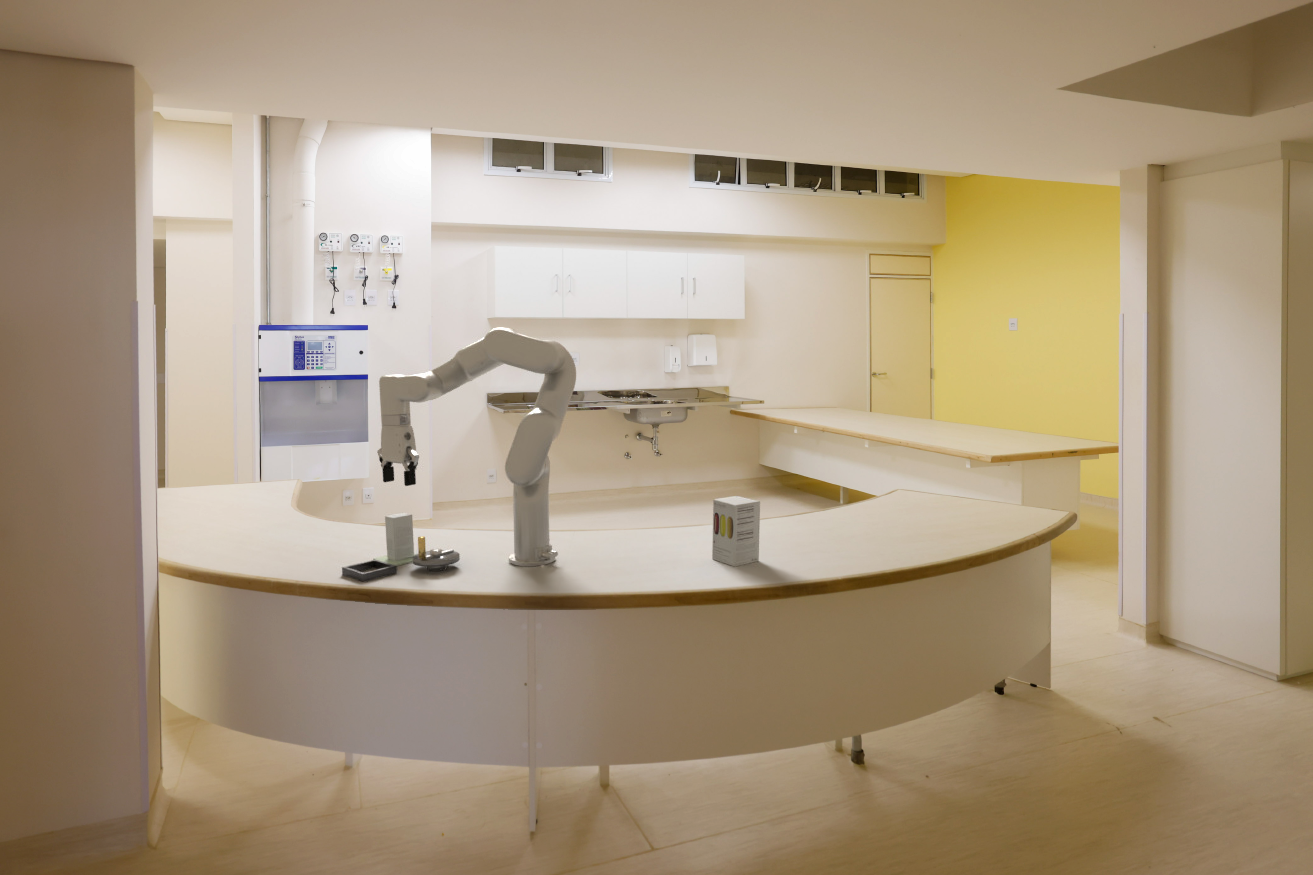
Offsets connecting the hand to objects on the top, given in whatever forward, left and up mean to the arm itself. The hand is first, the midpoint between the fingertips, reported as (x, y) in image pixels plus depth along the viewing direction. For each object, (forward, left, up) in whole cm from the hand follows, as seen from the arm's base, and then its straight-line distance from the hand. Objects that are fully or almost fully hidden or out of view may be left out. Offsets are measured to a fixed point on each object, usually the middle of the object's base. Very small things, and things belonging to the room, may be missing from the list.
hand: (399, 483), depth 224 cm
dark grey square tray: (-6, +14, -21) cm, 26 cm away
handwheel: (-15, 0, -19) cm, 24 cm away
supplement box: (-72, -56, -21) cm, 94 cm away
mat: (0, +1, -21) cm, 21 cm away
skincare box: (0, +1, -21) cm, 21 cm away
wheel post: (-15, 0, -21) cm, 26 cm away
